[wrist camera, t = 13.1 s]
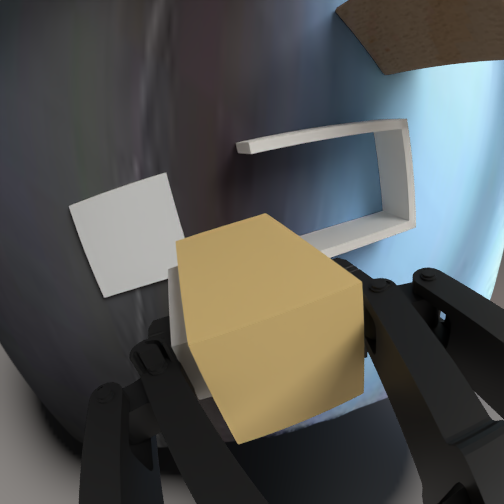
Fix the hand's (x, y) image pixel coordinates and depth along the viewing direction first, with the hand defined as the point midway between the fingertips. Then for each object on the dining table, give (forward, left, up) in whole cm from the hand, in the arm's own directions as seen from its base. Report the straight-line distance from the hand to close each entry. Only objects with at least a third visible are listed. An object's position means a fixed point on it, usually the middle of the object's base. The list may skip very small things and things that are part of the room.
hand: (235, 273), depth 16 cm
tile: (0, -7, -15) cm, 16 cm away
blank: (0, 0, -1) cm, 1 cm away
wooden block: (-18, +26, -15) cm, 35 cm away
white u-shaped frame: (0, +13, -15) cm, 20 cm away
